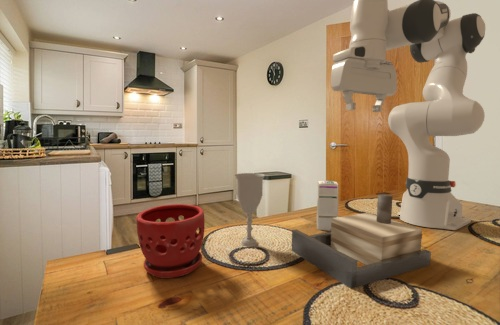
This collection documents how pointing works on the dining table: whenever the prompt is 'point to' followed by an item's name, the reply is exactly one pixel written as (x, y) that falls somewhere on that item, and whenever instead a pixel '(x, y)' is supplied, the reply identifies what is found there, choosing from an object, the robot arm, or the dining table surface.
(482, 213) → the dining table surface
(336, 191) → the syrup box
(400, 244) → the beige knobbed block
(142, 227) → the plant pot
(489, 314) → the dining table surface
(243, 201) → the chalice
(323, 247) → the bay
